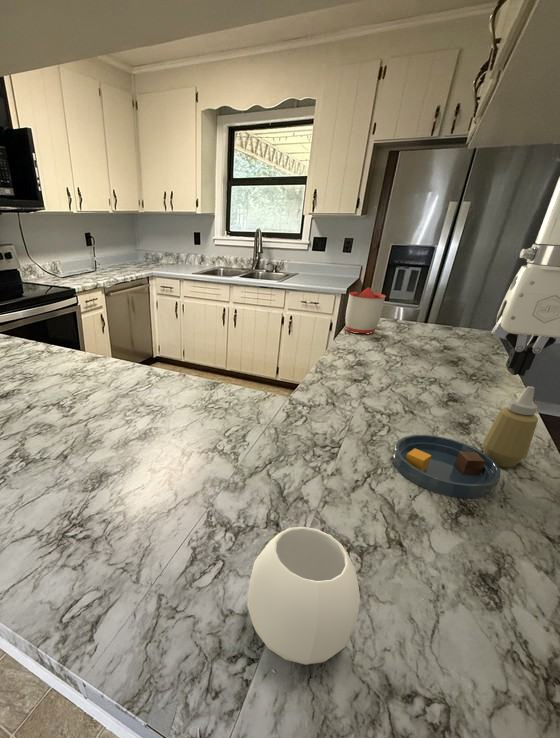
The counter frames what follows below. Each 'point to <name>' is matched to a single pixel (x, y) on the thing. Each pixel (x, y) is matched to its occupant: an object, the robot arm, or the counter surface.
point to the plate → (445, 467)
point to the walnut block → (469, 463)
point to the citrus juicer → (364, 311)
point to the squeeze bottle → (512, 431)
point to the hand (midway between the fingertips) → (515, 372)
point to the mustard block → (418, 459)
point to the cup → (304, 595)
